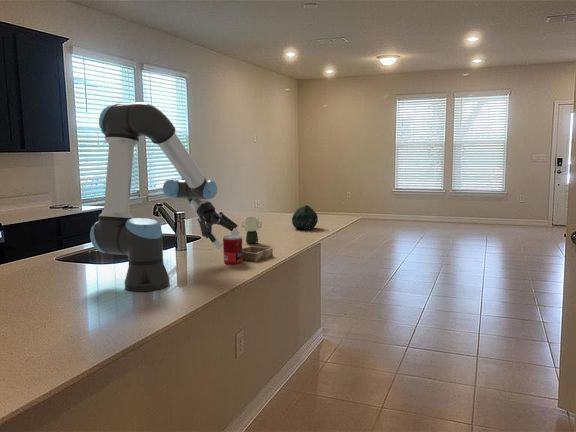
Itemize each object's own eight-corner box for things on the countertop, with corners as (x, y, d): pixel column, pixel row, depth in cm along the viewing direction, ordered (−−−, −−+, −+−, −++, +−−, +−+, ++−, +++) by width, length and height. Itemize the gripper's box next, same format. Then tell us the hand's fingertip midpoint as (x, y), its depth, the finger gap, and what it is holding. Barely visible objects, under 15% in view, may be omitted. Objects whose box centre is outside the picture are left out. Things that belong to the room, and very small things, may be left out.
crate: (255, 261, 208) (255, 253, 208) (233, 258, 215) (233, 250, 215) (272, 256, 218) (272, 248, 218) (251, 253, 225) (251, 245, 225)
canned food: (239, 264, 204) (239, 238, 202) (221, 264, 205) (220, 238, 204) (245, 260, 211) (244, 235, 210) (227, 260, 213) (226, 234, 211)
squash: (294, 217, 302) (292, 200, 291) (318, 218, 300) (318, 201, 289) (291, 235, 293) (289, 219, 282) (317, 236, 291) (316, 220, 280)
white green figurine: (264, 242, 252) (264, 217, 250) (259, 245, 245) (259, 218, 243) (244, 241, 255) (244, 216, 253) (239, 244, 248) (238, 218, 246)
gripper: (186, 204, 202) (215, 243, 196) (226, 198, 223) (254, 233, 216) (177, 216, 206) (206, 255, 200) (218, 209, 226) (245, 244, 220)
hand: (231, 244), depth 208 cm, fingers open, 13 cm apart
